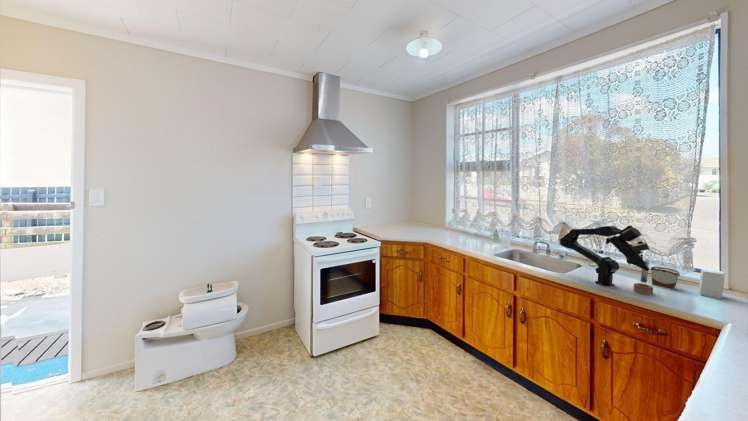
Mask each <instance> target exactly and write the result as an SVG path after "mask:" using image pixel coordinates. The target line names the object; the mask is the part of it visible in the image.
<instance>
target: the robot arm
mask: <svg viewBox="0 0 748 421" xmlns="http://www.w3.org/2000/svg"><path fill="white" fill-rule="evenodd" d="M584 235H585V236H587V235H589V236H590V235H591V236H594V235H595V236H601V237H606V239H605V244H606V245H608V244H610V243H611V245H612V246H614V247H615V248H616V249H617V250H618V252H619V253H621V254H623V256H624V257H625V259H626V263H627V264H628V265H629V266H630V265H634V266H635V267H638V268H639V269H641V270H642V269H644V270H646V271H648V272H649V271H650V267H649V266H648V267H647V266H646V264H645V263H644V262H643V261H645V260H644V254H643V252H642V251H648V250H650V247H649V245H648V243H647V242H643V241H642V240H640V241H637V243H635V244H634V245H633V244H632V243H629V242H632V241H634V240H635V239H638V238H639V237H641V236H642V233H641V232H640V230H639V229H637V228H636V227H633V225H627V226H626V227H625V228H623V229H620V228H617V227H616V226H615V225H605V226H601V227H600V226H599V227H596V228H595V227H593V228H573V229H571V230H570V231H569V232H567V234H565V235H564V236H563V237H561V238H560V239H559V243H560V244H559V245H560V246H562V247H563V248H567V249H568V250H569V249H570V250H572V251H574V252H577V253H578V254H580V255H582V256H583V257H585V258H587V259H588V260H589V261H592V262H593V263H595V264H596V265H597V268H595V269H594V270H595V272H596V273H597V280H595V281H594V283H597V284H600V285H603V286H615V283H613V280H614V279H613V278H614V276H613V274H615V273H616V272H618V270H619V269H620V264H619V262H617V260H616V259H613V258H611V256H603V257H602V256H600V255H599V254H598V253H596V252H594V251H592V250H590V249H588V248H587V247H585V246H584V245H581V244H580V243H579V242H578V239H579V237H580V236H584ZM609 237H610V238H609Z"/></svg>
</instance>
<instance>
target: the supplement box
mask: <svg viewBox="0 0 748 421" xmlns="http://www.w3.org/2000/svg"><path fill="white" fill-rule="evenodd" d="M699 276H700V277H699V278H700V279H699V285H698V293H699V295H700V296H703V297H704V296H705V297H709V298H714V299H719V300H720V299H721V300H722V299H723V296H724V295H723V292H724V287H725V286H724V285H725V276H726V274H725V273H724V272H723V271H722V270H715V269H707V268H700V275H699Z"/></svg>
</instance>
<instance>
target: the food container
mask: <svg viewBox="0 0 748 421" xmlns="http://www.w3.org/2000/svg"><path fill="white" fill-rule="evenodd" d="M649 271H650V272H651V274H650V275H651V286H652V285H653V286H656V287H660V288H663V289H669V290H672V291H675V289H676V286H677V282H678V278H679V277H681V274H680V270H676V269H673V268H669V267H661V266H650V267H649Z"/></svg>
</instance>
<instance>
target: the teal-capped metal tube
mask: <svg viewBox="0 0 748 421" xmlns="http://www.w3.org/2000/svg"><path fill="white" fill-rule="evenodd" d="M643 262H644V263H645V264H646V266H647V267H649V265H650V264H649V263H650V261H648V260H644V261H643ZM640 274H641V275H640V283H647V282H648V274H649V271H646V270H644V269H642V268H641V273H640Z"/></svg>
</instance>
